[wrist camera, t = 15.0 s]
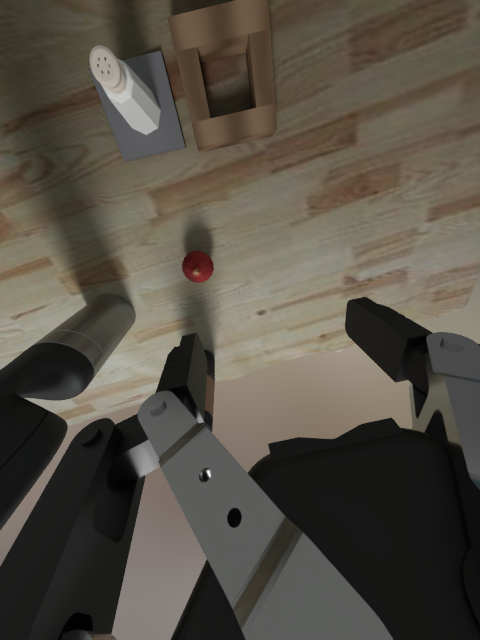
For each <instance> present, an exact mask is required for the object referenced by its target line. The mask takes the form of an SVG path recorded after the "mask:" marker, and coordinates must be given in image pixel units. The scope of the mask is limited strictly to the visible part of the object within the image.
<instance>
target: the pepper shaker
mask: <svg viewBox="0 0 480 640" xmlns="http://www.w3.org/2000/svg"><path fill="white" fill-rule="evenodd" d="M89 62H90V67H91V70H92V73H93V74H94V76H95V78H96V79H97V80H98V82H100V83H101V85H102V87H103V89H104V91H105V92H106V94H107V96H108V98H109V99H110V101H111V102H112V103H113V104H114V106H115V107H116V108H117V110H118V111H119V112H120V113H121V115H122V116H123V117H124V118H125V120H126V121H127V122H128V124H129V125H130V126H131V127H132V128H133V129H135V130H137V131H139V132H141V133H143V134H145V135H148V134H149V133H151V132H152V131H154V130H156V129H157V128H158V126H159V119H160V112H161V110H160V108H159V106H158V103H157V101H156V99H155V97H154V95H153V93H152V91H151V90H150V89H149V88H148V87H147V86H146V85H145V83H144V82H143V81H142V80H141V79H140V78H139V77H138V76H137V75H136V74H135V73H134V72H133V70H132V69H131V68H130V67H129V66H128V65H127V64H126V63H125V62H123V61H121V60H119V59H118V58H116V57H115V55H114V54H113V53H112V52H111V51H110V50H109V49H108V48H106V47H105V46H101V45H98V46H95V47H94V48H93V49H92V51H91V53H90V60H89Z"/></svg>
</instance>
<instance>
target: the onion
mask: <svg viewBox="0 0 480 640" xmlns="http://www.w3.org/2000/svg"><path fill="white" fill-rule="evenodd" d="M182 270H183V272H184V274H185V276H186V277H187V278H188V279H189V280H190V281H192V282H196V283H199V282H204V281H206V280H208V279H209V278H210V277H211V275H212V273H213V270H214V267H213V262H212V260H211V258H210V257H209V256H208V255H207V254H206V253H204V252H201V251H193V252H190V253H188V254H187V255H186V257H185V258H184V260H183V263H182Z"/></svg>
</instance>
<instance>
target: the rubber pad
mask: <svg viewBox="0 0 480 640" xmlns="http://www.w3.org/2000/svg"><path fill="white" fill-rule="evenodd" d="M121 61H123V62H125V63H126V64H127V65H128V66H129V67H130V68H131V69H132V70H133V72H134V73H135V74H136V75H137V76H138V77H139V78H140V79H141V80H142V81H143V82H144V83H145V85H146V86H147V87H148V88H149V89H150V90H151V91H152V93H153V95H154V97H155V99H156V101H157V103H158V106H159V108H160V110H161V112H160V119H159V126H158V128H157V129H156V130H154V131H152V132H151V133H149V134H148V135H145V134H143V133H141V132H139V131H137V130H135V129H133V128H132V127H131V126H130V125H129V124H128V122H127V121H126V120H125V118H124V117H123V116H122V115H121V113H120V112H119V111H118V110H117V108H116V107H115V106H114V104H113V103H112V102H111V101H110V99H109V98H108V96H107V94H106V92H105V91H104V89H103V87H102V85H101V83H100V82H98V80H97V79H96V78H95V76H94V74H93V73H92V70H91V68H89V71H90V73H91V76H92V79H93V81H94V84H95V86H96V89H97V92H98V94H99V97H100V99H101V102H102V105H103V107H104V110H105V112H106V115H107V118H108V120H109V123H110V125H111V128H112V131H113V133H114V136H115V138H116V141H117V144H118V146H119V149H120V151H121V154H122V157H123V159H124V161H130V160H134V159H139V158H143V157H147V156H152V155H156V154H160V153H165V152H169V151H173V150H178V149H182V148H186V147H185V143H184V139H183V135H182V131H181V127H180V123H179V119H178V115H177V111H176V107H175V103H174V100H173V96H172V92H171V88H170V84H169V80H168V76H167V72H166V68H165V64H164V60H163V56H162V53H161V51H157V52H153V53H149V54H144V55H140V56H136V57H132V58H128V59H124V60H121Z"/></svg>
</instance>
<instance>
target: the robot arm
mask: <svg viewBox="0 0 480 640" xmlns="http://www.w3.org/2000/svg"><path fill="white" fill-rule="evenodd" d="M134 322H135V312H134V310H133V308H132V307H131V305H130V304H129V303H128V302H126V301H125V300H124V299H122V298H120V297H117V296H114V295H102V296H99V297H97V298H96V299H94V300H93V301H92V302H90V303H89V304H88V305H86V306H85V307H84V308H82V309H81V310H79V311H78V312H77V313H75V314H74V315H73V316H71V317H70V318H69V319H67V320H66V321H65V322H63V323H62V324H61V325H59V326H58V327H57V328H55V329H54V330H53V331H51V332H50V333H48V334H47V335H46V336H45V337H43V338H42V339H41V340H39V341H38V342H37V343H35V344H34V345H32V346H31V347H30V348H28V349H27V350H26V351H24V352H23V353H22V354H21V355H19V356H18V357H17V358H16V359H14V360H13V361H12V362H10V363H9V364H8V365H7V366H5V367H4V368H2V369H1V370H0V530H1V529H2V527H3V526H4V525H5V523H6V522H7V521H8V519H9V518H10V516H11V515H12V514H13V512H14V511H15V510H16V508H17V507H18V506H19V504H20V503H21V501H22V500H23V499H24V497H25V496H26V495H27V493H28V492H29V491H30V489H31V488H32V487H33V485H34V484H35V482H36V481H37V480H38V478H39V477H40V475H41V474H42V473H43V471H44V470H45V468H46V467H47V465H48V464H49V463H50V461H51V460H52V458H53V456H54V455H55V454H56V452H57V450H58V449H59V447H60V445H61V443H62V442H63V439H64V437H65V435H66V432H67V423H66V421H65V420H64V419H62V418H61V417H59V416H58V415H56V414H54V413H52V412H50V411H48V410H46V409H44V408H42V407H40V406H38V405H36V404H34V403H32V402H30V401H28V400H26V399H24V398H36V399H44V400H66V399H70V398H73V397H75V396H77V395H79V394H80V393H82V392H83V391H84V390H85V389H86V388H87V386H88V385H89V383H90V382H91V381H92V379H93V378H94V377H95V375H96V374H97V373H98V371H99V370H100V369H101V367H102V366H103V364H104V363H105V362H106V360H107V359H108V358H109V356H110V355H111V354H112V352H113V351H114V350H115V348H116V347H117V346H118V344H119V343H120V342H121V340H122V339H123V338H124V336H125V335H126V334H127V332H128V331H129V329H130V328H131V327H132V325H133V324H134ZM345 329H346V332H347V334H348V336H349V337H350V338H351V339H352V340H353V341H354V342H355V343H356V344H357V345H358V346H359V347H360V348H361V349H362V350H363V351H364V352H365V353H366V354H367V355H368V356H369V357H370V358H371V359H372V360H373V361H374V362H375V363H376V364H377V365H378V366H379V367H380V368H381V369H382V370H383V371H384V372H386V373H387V375H388V376H390V378H391V379H393V380H394V381H395V382H400V381H404V380H409V381H410V382H411V384H410V387H409V391H410V403H411V414H412V429H405V428H400V427H399V426H398V425H397V423H396V422H395V421H394V420H393V419H392V418H388V419H384V420H379V421H374V422H369V423H365V424H361V425H359V426H357V427H356V428H354V429H352V430H350V431H348V432H346V433H345V434H343V435H341V436H340V437H338V438H336V439H317V438H300V437H298V438H293V439H289V440H284V441H279V442H274V443H270V444H268V445H269V449H270V454H268V455H267V456H265V457H263V458H262V459H261V460H259V461H258V462H257V463H256V464H255V465H254V466H253V467H252V468H251V470H250V471H249V472H248V473H247V472H246V471H245V470H244V469H243V468H242V467H241V465H240V464H239V463H238V462H237V461H236V460H235V459H234V458H233V456H232V455H231V454H230V453H229V452H228V451H227V449H226V448H225V447H224V446H223V445H222V444H221V443H220V442H219V441H218V439H217V438H216V437H215V436H214V435H213V433H212V432H211V431H210V430H209V429H208V428H207V427H206V426H205V425H204V424H203V422H204V417H205V400H206V383H207V358H206V355H205V352H204V349H203V346H202V344H201V341H200V338H199V335H198V334H197V333H194V334H189V335H184V336H182V339H181V342H180V346H178V347H174V348H173V349H172V351H171V352H170V353H169V354H168V357H167V360H166V364H165V366H164V370H163V372H162V375H161V378H160V381H159V384H158V387H157V390H156V393H155V394H153V395H152V396H150V397H149V398H148V399H147V400H145V401H144V403H143V404H142V405H141V407H140V409H139V411H138V414H136V415H134V416H132V417H130V418H128V419H126V420H124V421H122V422H120V423H118V424H116V425H115V424H114V422H113V421H112V420H111V419H108V418H103V419H99V420H96V421H94V422H92V423H90V424H89V425H87V426H86V427H85V428H83V429H82V430H81V431H80V432H79V433H78V434H77V435H76V436H75V438H74V439H73V440H72V442H71V444H70V445H69V447H68V449H67V450H66V452H65V454H64V456H63V457H62V459H61V461H60V463H59V464H58V466H57V468H56V470H55V472H54V473H53V475H52V477H51V479H50V481H49V482H48V484H47V486H46V487H45V489H44V491H43V493H42V494H41V496H40V498H39V500H38V501H37V503H36V505H35V507H34V508H33V510H32V512H31V514H30V515H29V517H28V519H27V521H26V522H25V524H24V526H23V528H22V530H21V531H20V533H19V535H18V537H17V538H16V540H15V542H14V544H13V545H12V547H11V549H10V551H9V552H8V554H7V556H6V558H5V559H4V561H3V563H2V565H1V566H0V640H117V639H116V638H115V637H114V636H113V635H111V632H112V628H113V624H114V619H115V614H116V610H117V605H118V600H119V596H120V591H121V587H122V582H123V577H124V573H125V568H126V564H127V558H128V555H129V550H130V545H131V541H132V536H133V531H134V527H135V522H136V517H137V513H138V509H139V504H140V499H141V495H142V490H143V485H144V481H145V476H146V474H147V473H149V472H151V471H153V470H154V469H156V468H158V467H159V466H160V467H161V469H162V471H163V473H164V475H165V477H166V479H167V481H168V483H169V485H170V487H171V489H172V491H173V493H174V495H175V497H176V498H177V501H178V503H179V504H180V506H181V508H182V510H183V512H184V514H185V516H186V518H187V520H188V522H189V524H190V526H191V528H192V530H193V532H194V534H195V536H196V538H197V539H198V542H199V544H200V546H201V548H202V550H203V552H204V553H205V555H206V557H207V560H206V562H205V564H204V567H203V569H202V571H201V574H200V576H199V578H198V580H197V582H196V584H195V587H194V589H193V591H192V594H191V596H190V598H189V600H188V602H187V604H186V607H185V609H184V611H183V614H182V616H181V618H180V620H179V622H178V625H177V627H176V629H175V631H174V633H173V636H172V638H171V640H480V344H477V343H476V342H474V341H473V340H471V339H469V338H467V337H464V336H462V335H458V334H454V333H446V332H438V333H432V332H430V331H429V330H427V329H425V328H424V327H422V326H420V325H418V324H417V323H415V322H413V321H412V320H410V319H408V318H406V317H405V316H403V315H401V314H398V312H396V311H395V310H393V309H391V308H389V307H386V306H383V305H380V304H377V303H375V302H373V301H372V300H370V299H368V298H367V297H362V298H357V299H353V300H349V301H348V303H347V310H346V321H345Z"/></svg>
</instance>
